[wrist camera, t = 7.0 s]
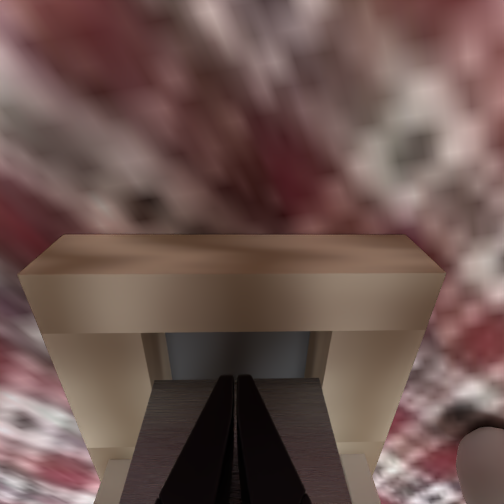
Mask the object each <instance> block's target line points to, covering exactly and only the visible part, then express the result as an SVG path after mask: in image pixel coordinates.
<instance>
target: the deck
mask: <svg viewBox="0 0 504 504" xmlns="http://www.w3.org/2000/svg"><path fill="white" fill-rule="evenodd" d="M17 275H18V278H19V280H20V283H21V285H22V288H23V290H24V293H25V295H26V297H27V300H28V302H29V305H30V307H31V310H32V312H33V315H34V317H35V320H36V322H37V325H38V327H39V330H40V332H41V335H42V337H43V340H44V342H45V345H46V347H47V350H48V352H49V355H50V357H51V360H52V362H53V365H54V367H55V370H56V372H57V375H58V377H59V380H60V382H61V384H62V387H63V389H64V392H65V394H66V397H67V399H68V402H69V404H70V407H71V409H72V412H73V414H74V417H75V419H76V422H77V424H78V427H79V429H80V432H81V434H82V437H83V439H84V442H85V444H86V447H87V449H88V452H89V454H90V457H91V459H92V462H93V464H94V467H95V469H96V471H97V474H98V476H99V479H100V481H102V478H103V475H104V473H105V470H106V467H107V464H108V461H109V460H121V459H132V457H133V453H134V450H135V446H136V443H137V439H138V436H139V432H140V429H141V425H142V422H143V419H144V415H145V412H146V408H147V405H148V401H149V398H150V394H151V391H152V387H153V384H154V380H202V379H218V378H219V376H220V375H227V374H232V375H234V379H237V376H238V375H239V374H250V375H251V376H252V377H253V379H268V378H319V380H320V384H321V388H322V391H323V395H324V399H325V403H326V407H327V411H328V414H329V418H330V422H331V426H332V430H333V433H334V437H335V441H336V445H337V449H338V452H339V456H340V454H365V457H366V460H367V463H368V466H369V469H370V472H371V475H373V473H374V470H375V467H376V464H377V462H378V459H379V456H380V454H381V451H382V448H383V445H384V443H385V440H386V437H387V434H388V432H389V429H390V426H391V423H392V421H393V418H394V415H395V412H396V410H397V407H398V404H399V401H400V399H401V396H402V393H403V391H404V388H405V385H406V382H407V380H408V377H409V374H410V371H411V369H412V366H413V363H414V360H415V358H416V355H417V352H418V349H419V347H420V344H421V341H422V339H423V336H424V333H425V330H426V328H427V325H428V322H429V319H430V317H431V314H432V311H433V308H434V306H435V303H436V300H437V297H438V295H439V292H440V289H441V287H442V284H443V281H444V278H445V276H446V272H445V271H444V270H443V269H441V268H440V267H439V266H438V265H437V264H436V263H435V262H434V261H433V260H432V259H431V258H430V257H429V256H428V255H427V254H425V253H424V252H423V251H422V250H421V249H420V248H419V247H418V246H417V245H416V244H415V243H414V242H413V241H412V240H411V239H409V238H408V237H407V236H406V235H187V234H64V235H62V236H61V237H60V238H59V239H58V240H57V241H56V242H54V243H53V244H52V245H51V246H50V247H49V248H47V249H46V250H45V251H44V252H43V253H42V254H41V255H39V256H38V257H37V258H36V259H35V260H34V261H32V262H31V263H30V264H29V265H28V266H27V267H26V268H24V269H23V270H22V271H21V272H20V273H19V274H17Z"/></svg>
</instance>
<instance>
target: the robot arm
mask: <svg viewBox="0 0 504 504" xmlns="http://www.w3.org/2000/svg"><path fill="white" fill-rule="evenodd" d="M234 416H235V388H234V375H232V374H227V375H220V376H219V378H218V379H217V381H216V383H215V385H214V387H213V389H212V391H211V393H210V395H209V397H208V399H207V401H206V403H205V405H204V407H203V409H202V411H201V413H200V415H199V417H198V418H197V420H196V422H195V424H194V426H193V428H192V430H191V432H190V434H189V436H188V438H187V440H186V442H185V444H184V446H183V448H182V450H181V452H180V454H179V456H178V458H177V459H176V461H175V463H174V465H173V467H172V469H171V471H170V473H169V475H168V477H167V479H166V481H165V483H164V485H163V487H162V489H161V491H160V493H159V495H158V496H159V498H157V499H156V500H155V502H154V504H229V495H230V487H231V479H232V470H233V460H234ZM236 417H237V459H238V470H239V480H240V490H241V499H242V504H312V501H311V499H310V497H309V495H308V494H307V493H306V489H305V487H304V485H303V483H302V481H301V479H300V476H299V474H298V472H297V470H296V468H295V466H294V464H293V462H292V460H291V457H290V455H289V453H288V451H287V449H286V447H285V445H284V443H283V440H282V438H281V436H280V434H279V432H278V430H277V428H276V426H275V424H274V421H273V419H272V417H271V415H270V413H269V411H268V409H267V407H266V405H265V402H264V400H263V398H262V396H261V394H260V392H259V390H258V388H257V386H256V383H255V381H254V379H253V377H252V376H251V375H250V374H239V375H238V376H237V401H236Z"/></svg>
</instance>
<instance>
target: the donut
mask: <svg viewBox="0 0 504 504" xmlns="http://www.w3.org/2000/svg"><path fill="white" fill-rule="evenodd" d="M456 469H457V474H458V478H459V482H460V486H461V490H462V494H463V497H464V499H465V501H466V503H467V504H504V429H500V428H494V427H480V428H478V429H476V430H474V431H472V432H471V433H469V434H467V435H466V436H464V438H463V439H462V440H461V441H460V443H459V447H458V452H457V460H456Z"/></svg>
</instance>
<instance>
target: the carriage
mask: <svg viewBox="0 0 504 504" xmlns="http://www.w3.org/2000/svg"><path fill="white" fill-rule="evenodd" d="M216 381H217V379H202V380H154V384H153V387H152V391H151V394H150V398H149V401H148V405H147V408H146V412H145V415H144V419H143V422H142V425H141V429H140V432H139V436H138V439H137V443H136V446H135V450H134V453H133V457H132V460H131V464H130V467H129V471H128V474H127V477H126V481H125V484H124V488H123V491H122V495H121V498H120V502H119V504H154V502H155V500H156V499H157V498H159V496H158V495H159V493H160V491H161V489H162V487H163V485H164V483H165V481H166V479H167V477H168V475H169V473H170V471H171V469H172V467H173V465H174V463H175V461H176V459H177V458H178V456H179V454H180V452H181V450H182V448H183V446H184V444H185V442H186V440H187V438H188V436H189V434H190V432H191V430H192V428H193V426H194V424H195V422H196V420H197V418H198V417H199V415H200V413H201V411H202V409H203V407H204V405H205V403H206V401H207V399H208V397H209V395H210V393H211V391H212V389H213V387H214V385H215V383H216ZM254 381H255V383H256V386H257V388H258V390H259V392H260V394H261V396H262V398H263V400H264V402H265V405H266V407H267V409H268V411H269V413H270V415H271V417H272V419H273V421H274V424H275V426H276V428H277V430H278V432H279V434H280V436H281V438H282V440H283V443H284V445H285V447H286V449H287V451H288V453H289V455H290V457H291V460H292V462H293V464H294V466H295V468H296V470H297V472H298V474H299V476H300V479H301V481H302V483H303V485H304V487H305V489H306V493H307V494H308V495H309V497H310V499H311V501H312V504H352V502H351V498H350V494H349V491H348V487H347V483H346V479H345V475H344V471H343V468H342V464H341V460H340V456H339V452H338V449H337V445H336V441H335V437H334V433H333V430H332V426H331V422H330V418H329V414H328V411H327V407H326V403H325V399H324V395H323V391H322V388H321V384H320V380H319V378H268V379H254ZM234 388H235V416H234V460H233V470H232V479H231V487H230V495H229V504H242V499H241V490H240V480H239V470H238V459H237V417H236V401H237V379H234Z"/></svg>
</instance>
